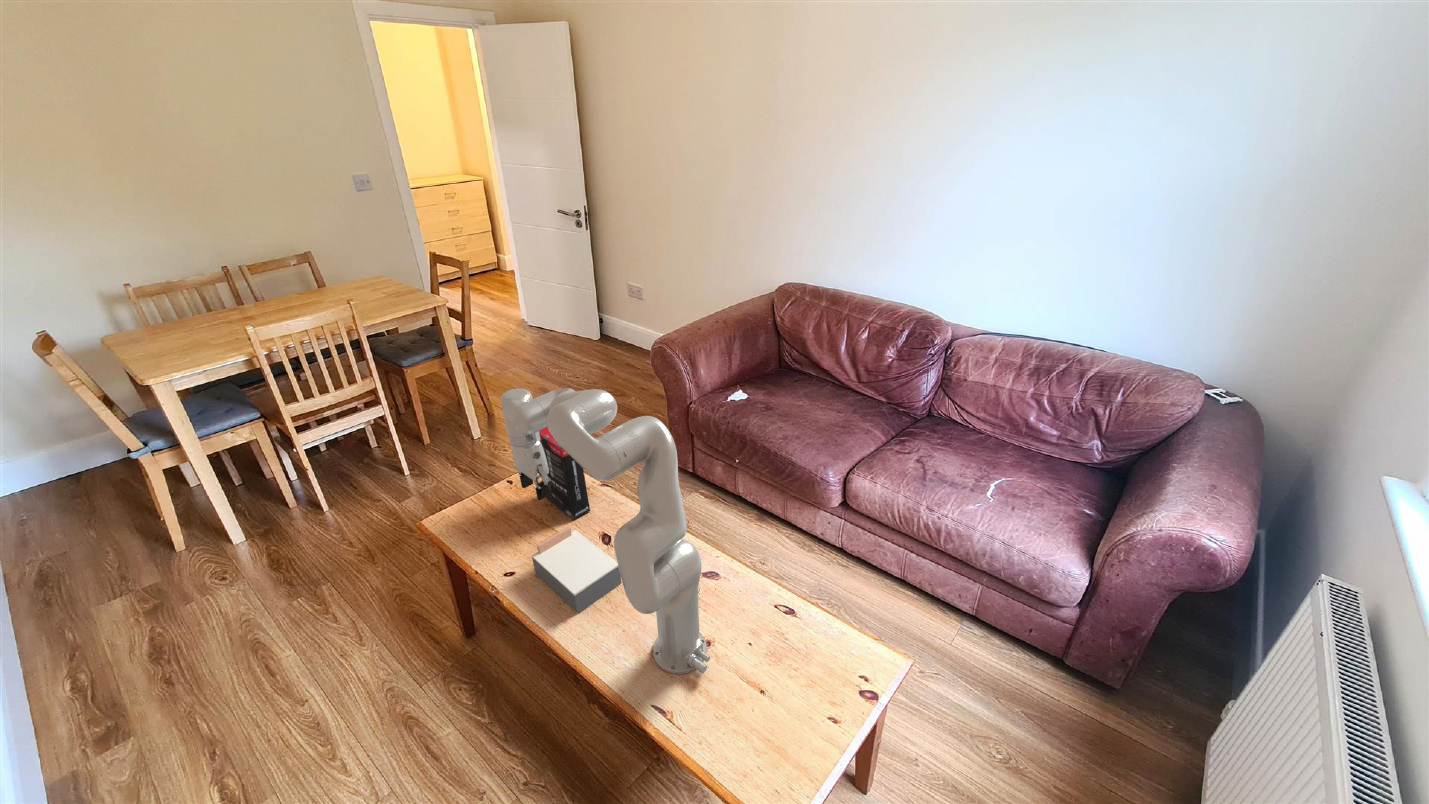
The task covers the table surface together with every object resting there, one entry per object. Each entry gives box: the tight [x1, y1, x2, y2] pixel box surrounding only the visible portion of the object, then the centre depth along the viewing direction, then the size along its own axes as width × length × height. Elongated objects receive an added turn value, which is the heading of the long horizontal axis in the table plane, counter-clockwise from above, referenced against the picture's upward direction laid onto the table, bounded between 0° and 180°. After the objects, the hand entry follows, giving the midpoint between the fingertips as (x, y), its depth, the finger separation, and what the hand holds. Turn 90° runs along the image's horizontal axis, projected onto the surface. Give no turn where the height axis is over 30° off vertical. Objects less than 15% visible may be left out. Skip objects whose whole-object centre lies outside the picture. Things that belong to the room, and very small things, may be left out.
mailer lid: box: [531, 526, 618, 596], centre depth 152 cm, size 20×14×3 cm
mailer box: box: [531, 557, 623, 615], centre depth 155 cm, size 20×14×6 cm
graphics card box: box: [539, 427, 591, 521], centre depth 177 cm, size 17×7×27 cm, turn 46°
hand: (535, 491), depth 155 cm, fingers open, 7 cm apart
